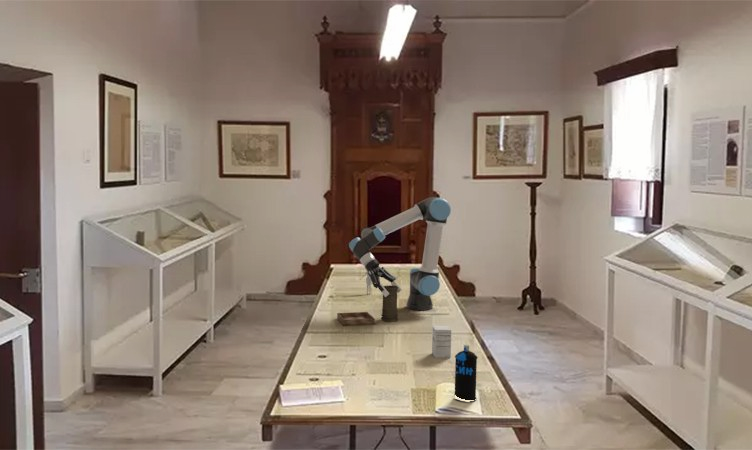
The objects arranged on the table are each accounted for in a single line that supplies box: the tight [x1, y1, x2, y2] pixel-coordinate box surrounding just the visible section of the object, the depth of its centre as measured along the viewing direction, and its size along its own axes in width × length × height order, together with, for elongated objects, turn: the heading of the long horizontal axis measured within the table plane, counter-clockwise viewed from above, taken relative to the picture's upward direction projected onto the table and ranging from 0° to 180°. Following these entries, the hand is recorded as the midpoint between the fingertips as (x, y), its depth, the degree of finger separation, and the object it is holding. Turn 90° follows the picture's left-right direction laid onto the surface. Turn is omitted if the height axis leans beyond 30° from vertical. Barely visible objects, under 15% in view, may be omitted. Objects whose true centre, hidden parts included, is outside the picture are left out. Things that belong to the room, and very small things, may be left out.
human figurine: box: [359, 270, 372, 295], centre depth 452 cm, size 12×4×18 cm, turn 97°
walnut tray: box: [336, 311, 376, 327], centre depth 382 cm, size 17×17×3 cm
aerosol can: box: [454, 344, 479, 401], centre depth 265 cm, size 8×8×20 cm
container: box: [380, 285, 399, 323], centre depth 385 cm, size 9×9×18 cm
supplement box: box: [431, 325, 452, 359], centre depth 320 cm, size 7×7×13 cm
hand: (393, 293), depth 384 cm, fingers open, 13 cm apart
